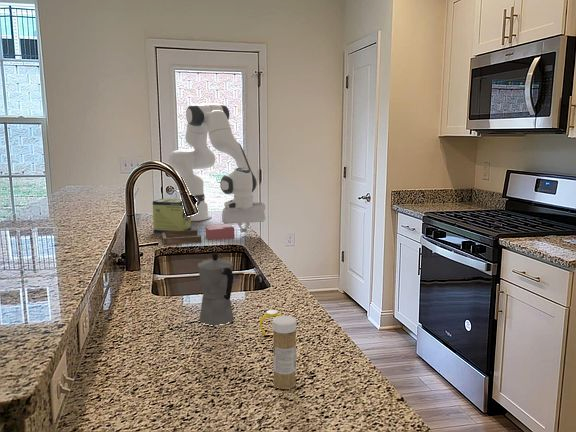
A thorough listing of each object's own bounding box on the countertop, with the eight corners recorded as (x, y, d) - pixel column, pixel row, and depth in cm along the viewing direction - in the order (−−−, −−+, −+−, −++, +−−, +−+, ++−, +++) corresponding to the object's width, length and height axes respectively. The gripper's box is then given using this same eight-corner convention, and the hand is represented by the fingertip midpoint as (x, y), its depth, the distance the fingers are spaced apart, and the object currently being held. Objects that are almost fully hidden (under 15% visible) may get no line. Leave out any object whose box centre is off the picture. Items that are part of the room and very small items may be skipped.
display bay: (162, 237, 221) (162, 231, 220) (197, 234, 226) (197, 229, 225) (164, 244, 206) (163, 238, 206) (201, 241, 211) (201, 236, 211)
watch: (261, 339, 113) (259, 315, 111) (260, 334, 115) (258, 311, 114) (286, 335, 114) (284, 312, 112) (284, 331, 116) (282, 308, 115)
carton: (205, 236, 224) (205, 226, 223) (230, 234, 227) (230, 224, 226) (208, 240, 215) (208, 229, 214) (234, 238, 219) (234, 228, 218)
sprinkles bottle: (278, 377, 94) (278, 313, 92) (299, 381, 93) (300, 316, 90) (269, 388, 90) (268, 321, 88) (291, 393, 89) (291, 325, 86)
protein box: (183, 234, 228) (181, 202, 225) (153, 232, 231) (151, 201, 228) (191, 229, 238) (190, 199, 235) (163, 228, 241) (161, 198, 238)
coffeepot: (189, 316, 126) (187, 250, 123) (221, 308, 131) (219, 245, 128) (215, 336, 113) (213, 263, 110) (249, 327, 119) (248, 257, 116)
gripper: (263, 201, 228) (263, 229, 230) (220, 203, 222) (221, 231, 224) (266, 203, 222) (266, 231, 224) (223, 205, 216) (223, 234, 218)
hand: (243, 231), depth 224 cm, fingers closed
